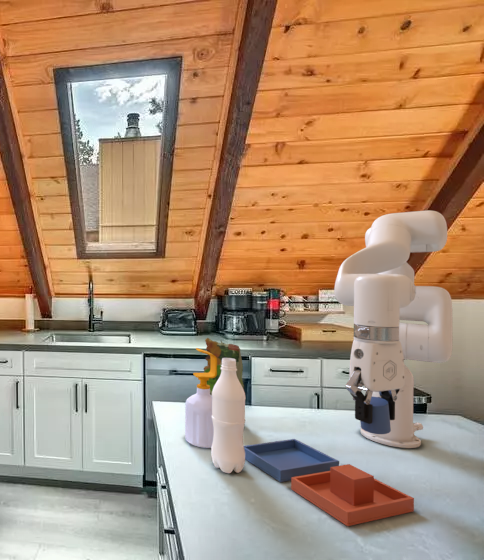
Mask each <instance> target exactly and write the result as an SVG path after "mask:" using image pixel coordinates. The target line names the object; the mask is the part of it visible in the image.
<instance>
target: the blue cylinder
mask: <svg viewBox="0 0 484 560" xmlns="http://www.w3.org/2000/svg"><path fill="white" fill-rule="evenodd" d="M370 404H372V405H373V412H372V423H371V424H368V423H365V422H362V421H360V420H359V421H360V422H359V423H360V429H361V428H362V429H363V430H365V431H367V432H369V433H373V434H387V433H389V432H390V431H391V427H390V416H389V405H388V401H386V400H385V399H382V398H379V397H371V401H370Z"/></svg>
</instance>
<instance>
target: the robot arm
mask: <svg viewBox="0 0 484 560" xmlns="http://www.w3.org/2000/svg"><path fill="white" fill-rule="evenodd" d="M447 241H448V225H447V221H446V218H445V217H444V215H443V214H442V213H441V212H439V211H436V210H427V209H426V210H417V211H405V212H392V213H387V214H383V215H381V216H379V217H377V218H376V219H375V220H373V222H372V224H371V226H370V227H369V228H368V229H367V230H366V232H365V234H364V243H365V247H364V248H361V249H360V250H358V251H357V252H355V253H353V254H352V255H350V256H348V257H347V258H346V259H344V260H343V262H342V263H341V264H340V266H339V267H338V271H337V275H336V278H335V282H334V288H333V292H334V298H335V300H336V301H337V302H338V303H339V304H341V305H343V306H347V307H353V341H352V345H351V350H350V357H349V371H348V372H349V373H348V374H349V379H348V381H347V382H346V384H345V385H344V386H345V389H346V390H347V391H348V392H349V393H350V395H351V396H352V401H354V418H355V420H357V421H362V422H365V423H368V424H371V423H372V412H373V405H372V404H370V401H371V397H379V398H382V399H385V400H386V401H388V405H389V416H390V427H391V431H390V432H389V433H387V434H373V433H369V432H367V431H365V430H363V429H362V428H361V427H360V434H361V435H362V436H363V437H364V438H366V439H368V440H371V441H373V442H375V443H379V444H382V445H385V446H389V447H393V448H401V449H417V448H419V447H420V446H421V445H422V441H421V438H419V437H418V436H416V435H415V432H416V431H422V430H424V426H423V424H422V423H421V422H414V387H415V383H414V382H415V379H414V375H413V373H412V372H411V370H410V369H409V367H407V365H406V364H405V360H409V361H417V362H426V363H434V364H435V363H436V364H443V363H446V362H448V361H449V360H450V359H451V357H452V355H453V343H454V342H453V338H454V337H453V302H452V301H453V300H452V296H451V294H450V292H449V291H448V290H447V289H445V288H444V287H440V286H433V285H416V284H415V270H414V268H413V267H412V266H411V265H410V263H408V260H409V259H410V255H411V253H434V252H439V251H441V250H443V248H445V246H446V244H447ZM400 321H409V322H410V321H411V322H424V323H426V324H421V323H408V322H400ZM362 391H364V392H362Z"/></svg>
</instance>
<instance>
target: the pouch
mask: <svg viewBox="0 0 484 560" xmlns="http://www.w3.org/2000/svg"><path fill="white" fill-rule="evenodd" d="M204 342H205V345H206V348H205V351H208V352H210V353H211V354H213V355H214V356H216V358H217V375H216V377H215V378H209V380H208V381H207V385H209V386H210V395H211V396H212V391H213V388H214V386H215V384H216V382H217V380H218V379H219V377H220V375H221V369H220V368H221V367H222V366H221V365H222V358H233V359H236V369H237V371H236V375H237V378H238V380H239V382H240V384H241V385H242V388H243V390H244V391H245V385H244V382H243V381H244V380H243V372H244V369H243V368H244V366H243V365H244V364H243V359H242V353H241V348H240V346H239V345H237V344H234V343H226V342H223V341H222V340H220V342H219V341H215V340H212V339H211V338H210V337H207V338H205V339H204ZM206 355H207V356H205V357H204V358H205V361H207V363H206V364H207V365H205V366H204V367H203V373H209V372H210V365H211V358H210V355H208V354H206ZM245 424H246V423H245ZM245 424H244V427H245Z"/></svg>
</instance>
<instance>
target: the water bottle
mask: <svg viewBox="0 0 484 560" xmlns="http://www.w3.org/2000/svg"><path fill="white" fill-rule="evenodd" d="M221 366H222V367H221V368H220V369H221V375H220V377H219V379H218V380H217V382H216V384H215V386H214V388H213V391H212V421H213V427H214V436H213V443H212V447H211V448H210V449H211V451H210V455H211V461H212V464H213V465H214V468H216V469H220V471H221V472H223V473H226V474H231V473H232V472H235V473H237V474H238V473H241V472H242V470H243V469H244V466H245V463H246V459H245V450H244V446H245V445H244V429H245V426H244V424H246V399H247V398H246V392H245V389H244V390H243V388H242V385H241V384H240V382H239V380H238V378H237V375H236V371H237V369H236V359H233V358H222V365H221Z"/></svg>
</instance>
